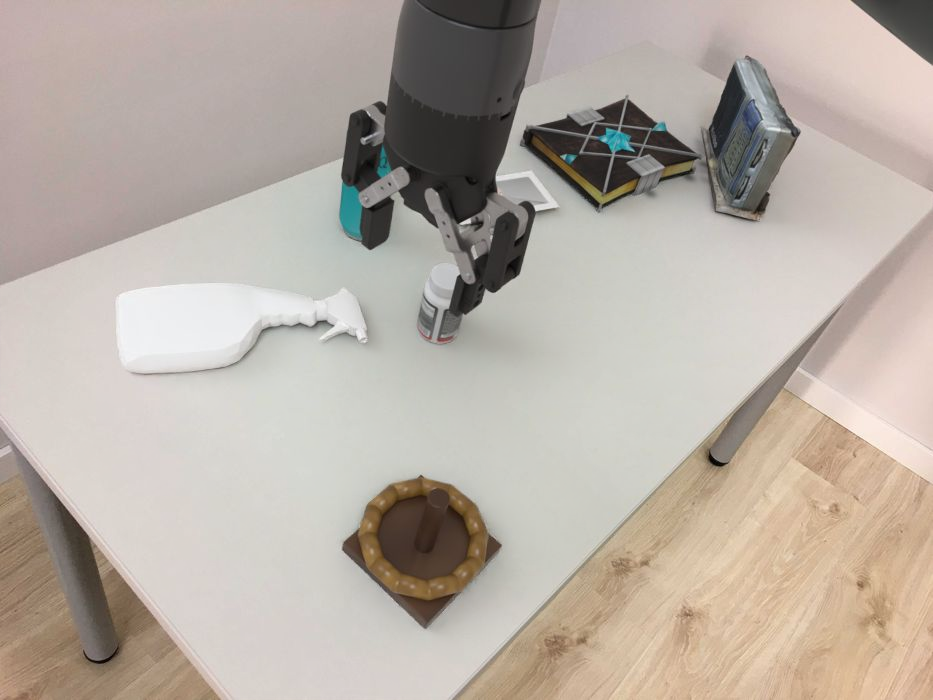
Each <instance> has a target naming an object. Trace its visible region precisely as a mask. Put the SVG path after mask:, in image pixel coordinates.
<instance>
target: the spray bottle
mask: <svg viewBox="0 0 933 700" xmlns="http://www.w3.org/2000/svg"><path fill="white" fill-rule="evenodd" d="M114 309H115V331H116V333H115V334H116V347H117V352H118V356H119V360H120V361H119V362H120V365H121V367H122V368H123V370H124V371H125V372H129V373H136V374H144V375H145V374H163V373H187V372H197V371H205V370H211V369H218V368H226V367H229V366H230V365H232V364H233V365H234V364H235V363H238V362H240V361H241V359H242V358H243V357H244V356H245V355H246V354H247V353H248V352H249V350H251V348H252V347H253V346H254V345H255V343H256V342H257V339H258V338H259V337H260V334H261V333H262V330H265V329H267V328H270V327H275V328H276V327H279V326H281V325H284V326H290V327H292V326H295V325H298V324H302V325H304V326H307V327H310V328H311V327H313V326H314V325H316V324H317V322H321V321H326V322H327V323H328V324H330V325H333V327H332V328H330V329H329V330H328V331H326V332H324V333H323V335H321V336H320V337H319V342H320V343H323V342H325V341H327V340H329V339H331V338H333V337H335V336H337V335H339V334H344V333H347V334H349V335H350V336H354V337H355V336H356V338H357V340H358V343H360V344H366V343H367V342H368V341H369V337H368V333H367V332H368V327H367V324H366V321H365V318H364V314H363V312H362V309H361V306H360V303H359V300H358V297H356V296H355V295H354V294H353V293H351V292H350V291H349V290H348V289H347V288H346V287H342V288H341V289H340V291H338V293H336V294H333V295H331V296H328V297H324V299H314V298H313V297H312V296H308V295H303V294H299V293H294V292H290V291H286V290H282V289H281V290H280V289H274V288H268V287H261V286H256V285H253V284H247V283H237V282H236V283H234V282H233V283H231V282H201V283H200V282H199V283H198V282H197V283H179V284H170V285H161V286H160V285H159V286H151V287H150V286H149V287H141V288H136V289H131V290H129V291H125V292H122V293H120V294H119V295H117V296H116V298H115V302H114Z"/></svg>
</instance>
